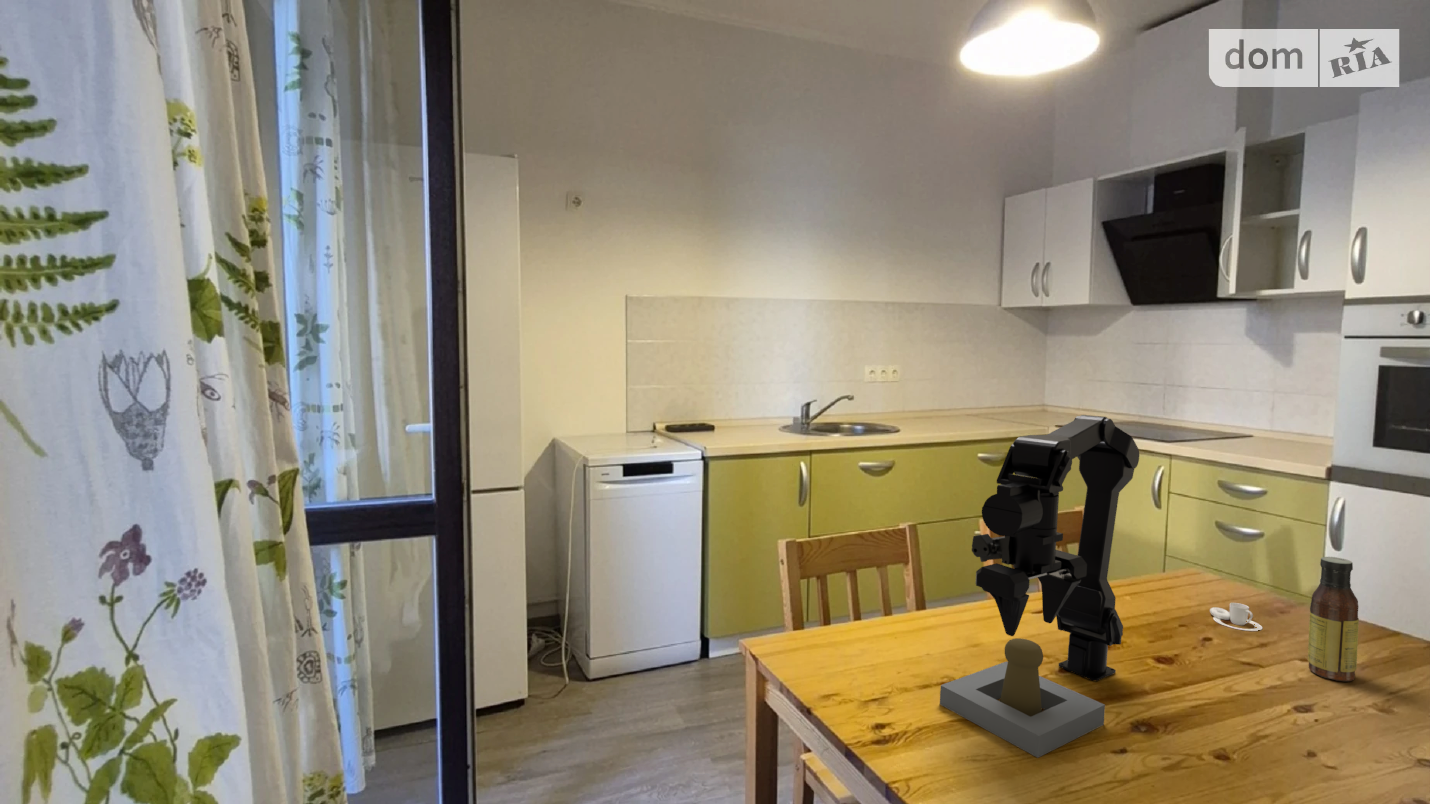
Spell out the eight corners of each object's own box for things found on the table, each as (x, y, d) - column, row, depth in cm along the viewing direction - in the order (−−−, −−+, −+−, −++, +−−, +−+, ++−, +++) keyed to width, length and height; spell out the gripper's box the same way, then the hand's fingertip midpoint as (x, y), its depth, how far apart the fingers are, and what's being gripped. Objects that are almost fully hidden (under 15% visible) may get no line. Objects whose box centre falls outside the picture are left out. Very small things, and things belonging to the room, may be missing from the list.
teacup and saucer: (1202, 614, 147) (1204, 595, 146) (1244, 617, 145) (1246, 598, 145) (1227, 631, 138) (1228, 611, 138) (1271, 634, 137) (1273, 614, 136)
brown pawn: (1047, 727, 100) (1051, 652, 99) (1002, 722, 101) (1006, 648, 101) (1037, 706, 106) (1041, 635, 105) (994, 701, 107) (998, 631, 107)
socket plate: (1005, 679, 115) (1006, 661, 115) (1103, 724, 101) (1105, 704, 101) (939, 704, 106) (940, 685, 106) (1037, 757, 93) (1039, 735, 93)
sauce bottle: (1346, 671, 121) (1358, 557, 119) (1361, 686, 115) (1373, 567, 113) (1298, 663, 123) (1309, 552, 122) (1311, 678, 118) (1322, 561, 116)
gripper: (1023, 505, 114) (1018, 599, 115) (947, 519, 104) (942, 622, 105) (1091, 521, 104) (1085, 623, 106) (1014, 538, 94) (1008, 650, 96)
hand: (1029, 628), depth 103 cm, fingers open, 9 cm apart
